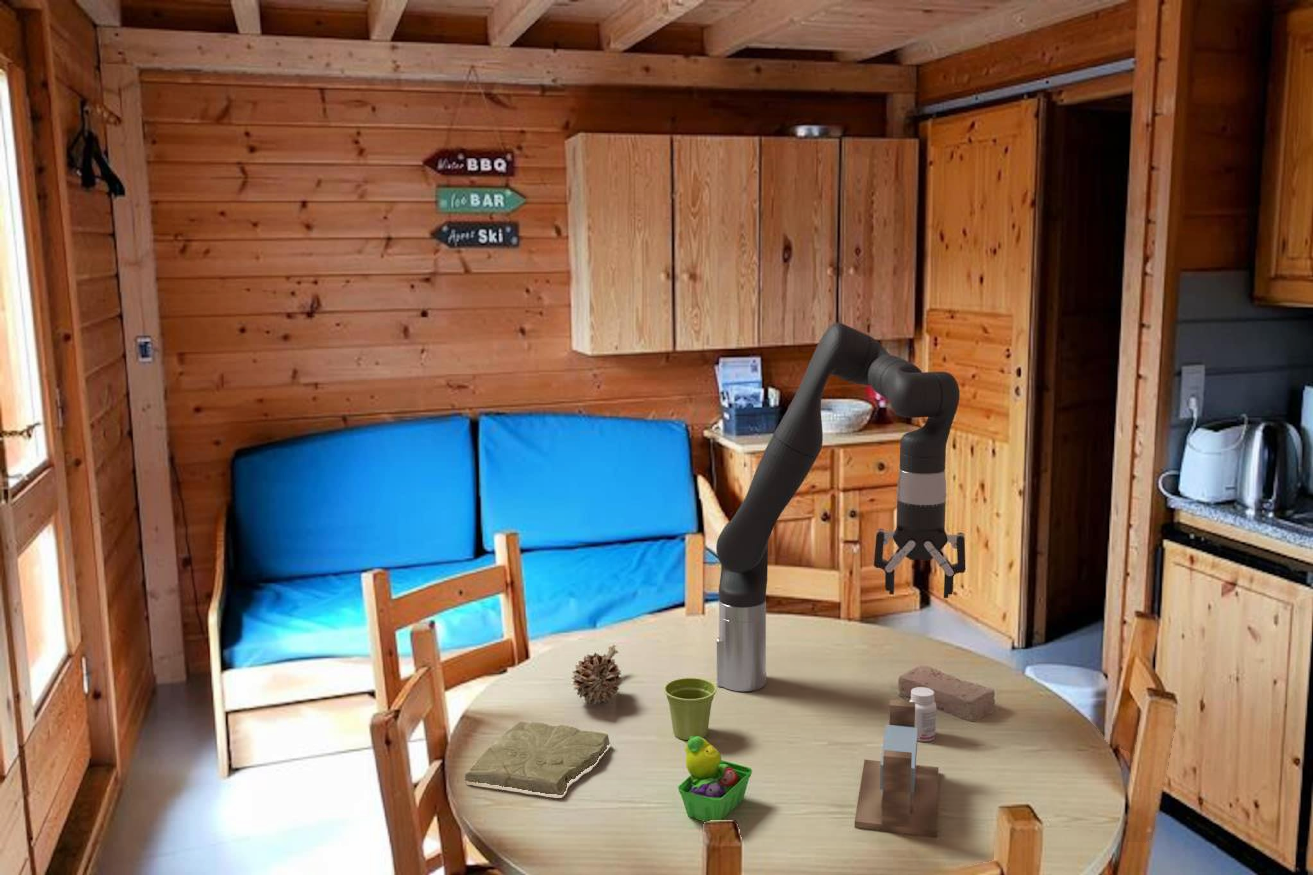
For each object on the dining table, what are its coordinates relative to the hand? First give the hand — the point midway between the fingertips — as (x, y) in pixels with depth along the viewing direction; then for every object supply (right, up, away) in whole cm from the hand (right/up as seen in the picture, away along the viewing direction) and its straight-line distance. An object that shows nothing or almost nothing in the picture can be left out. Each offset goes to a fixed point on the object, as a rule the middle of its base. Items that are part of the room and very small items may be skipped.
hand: (918, 594), depth 176 cm
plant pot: (-36, -28, +19) cm, 50 cm away
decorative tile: (-62, -31, +9) cm, 70 cm away
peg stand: (-4, -32, -4) cm, 32 cm away
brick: (+13, -25, +30) cm, 42 cm away
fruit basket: (-34, -33, -6) cm, 47 cm away
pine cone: (-53, -25, +37) cm, 69 cm away
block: (-4, -27, -5) cm, 27 cm away
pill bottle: (+5, -28, +17) cm, 33 cm away
